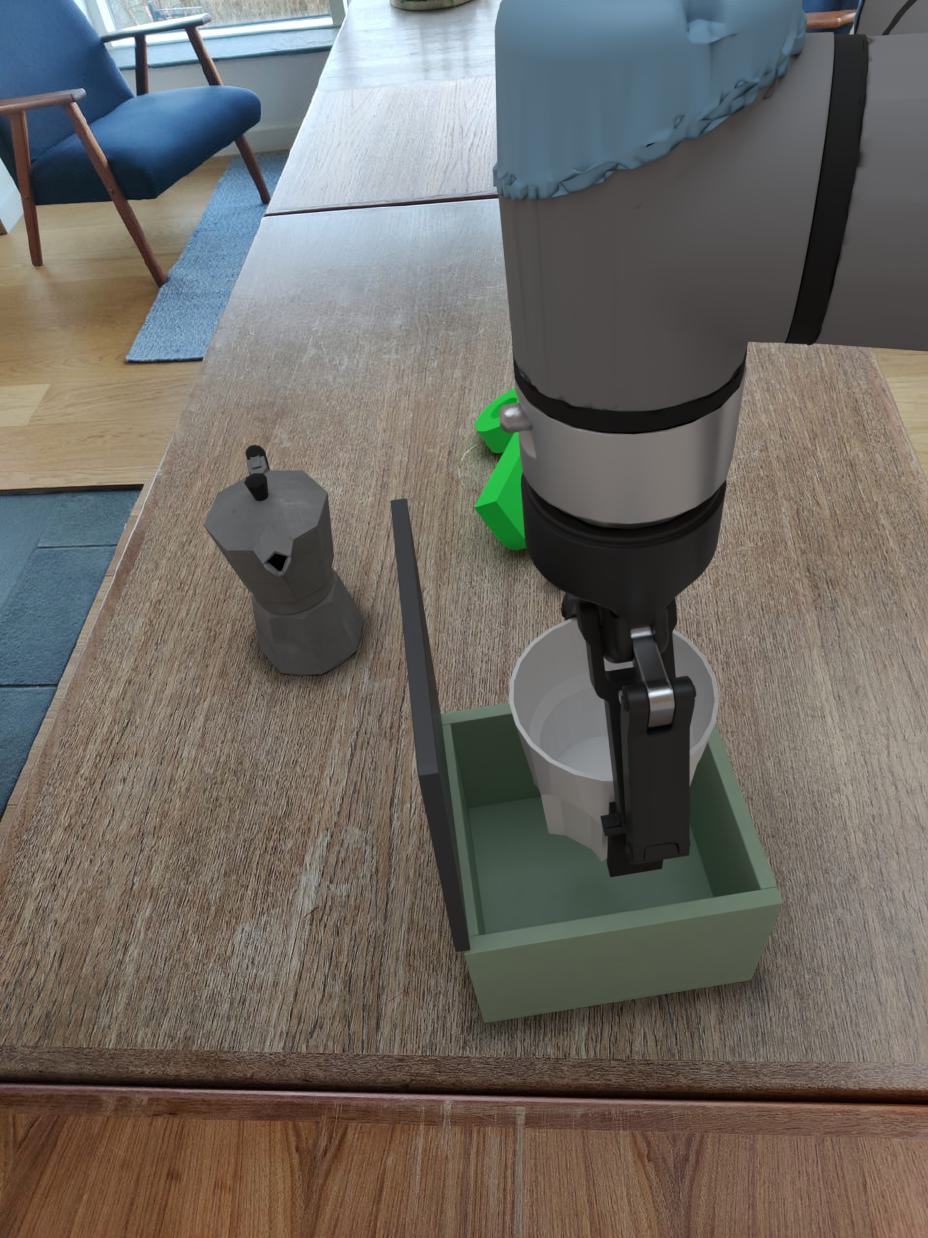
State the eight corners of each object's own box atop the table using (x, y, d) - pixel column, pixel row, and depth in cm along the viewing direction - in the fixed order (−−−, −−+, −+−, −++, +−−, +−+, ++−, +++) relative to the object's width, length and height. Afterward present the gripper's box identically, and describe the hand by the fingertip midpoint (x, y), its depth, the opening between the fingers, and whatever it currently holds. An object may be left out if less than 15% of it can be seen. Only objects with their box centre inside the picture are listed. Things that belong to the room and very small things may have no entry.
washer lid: (406, 497, 42) (390, 499, 42) (439, 772, 32) (417, 776, 32) (440, 709, 56) (427, 710, 56) (470, 950, 46) (455, 953, 46)
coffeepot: (381, 678, 73) (334, 519, 60) (270, 710, 72) (196, 556, 59) (346, 554, 83) (299, 394, 70) (248, 581, 82) (181, 424, 69)
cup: (727, 764, 51) (751, 658, 43) (650, 909, 46) (662, 818, 38) (573, 694, 55) (571, 587, 48) (487, 820, 50) (470, 723, 43)
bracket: (525, 450, 96) (489, 397, 93) (602, 424, 90) (565, 366, 86) (457, 579, 85) (412, 524, 81) (539, 560, 78) (494, 499, 75)
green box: (681, 769, 65) (697, 671, 56) (751, 980, 55) (783, 903, 46) (455, 805, 65) (434, 714, 56) (484, 1023, 55) (464, 955, 46)
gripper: (480, 319, 40) (511, 633, 57) (586, 740, 25) (586, 996, 42) (644, 292, 40) (627, 614, 57) (849, 698, 25) (743, 970, 42)
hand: (610, 776), depth 49 cm, fingers closed on cup, 10 cm apart
